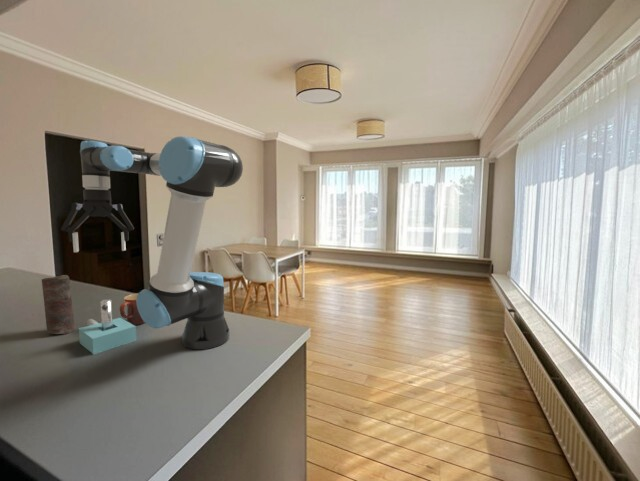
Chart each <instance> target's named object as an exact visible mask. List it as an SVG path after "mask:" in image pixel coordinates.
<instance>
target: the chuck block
mask: <svg viewBox="0 0 640 481" xmlns="http://www.w3.org/2000/svg"><path fill="white" fill-rule="evenodd" d="M85 325H86V326H82V327H78V337H79V339H78V340H79V344H80V345H81V346H83V347H84V348H85V349H87V351H89V352H90V353H91V354H92V355H96V354H97V355H98V354H100V353H102V352H106V351H109V350H112V349H115V348H118V347H122V346H125V345H127V344H130V343H133V342H137V327H136V326H137V325H133V324H131V323H129V322H128V321H127V320H125V318H123V317H117V318H113V328H112V329H109V330H105V331H102V324H101V322H98V321H97V320H95V319H93V318H89V319H87V320H86V321H85Z"/></svg>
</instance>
